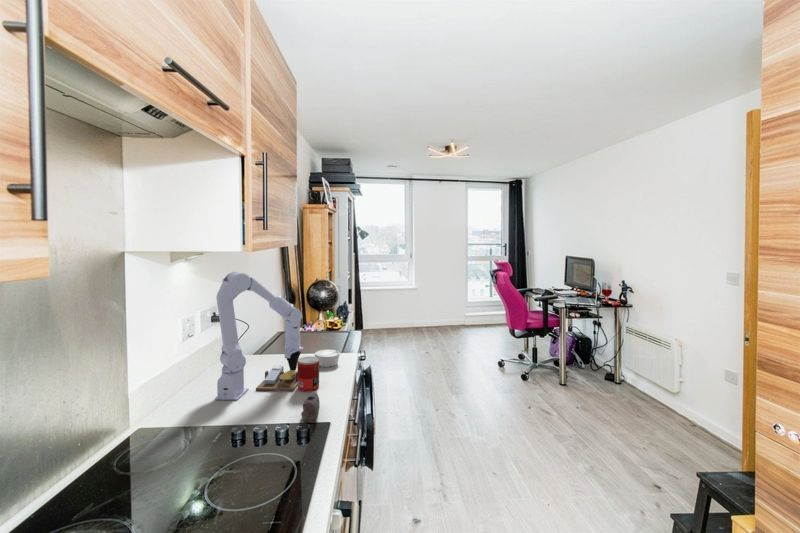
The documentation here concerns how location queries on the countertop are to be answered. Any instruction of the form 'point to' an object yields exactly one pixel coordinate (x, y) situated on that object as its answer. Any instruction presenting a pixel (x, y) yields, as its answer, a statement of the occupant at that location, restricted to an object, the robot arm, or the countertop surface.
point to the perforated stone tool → (311, 407)
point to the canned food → (308, 373)
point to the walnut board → (279, 384)
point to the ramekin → (327, 357)
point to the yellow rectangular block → (288, 374)
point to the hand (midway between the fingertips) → (293, 370)
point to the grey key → (273, 374)
